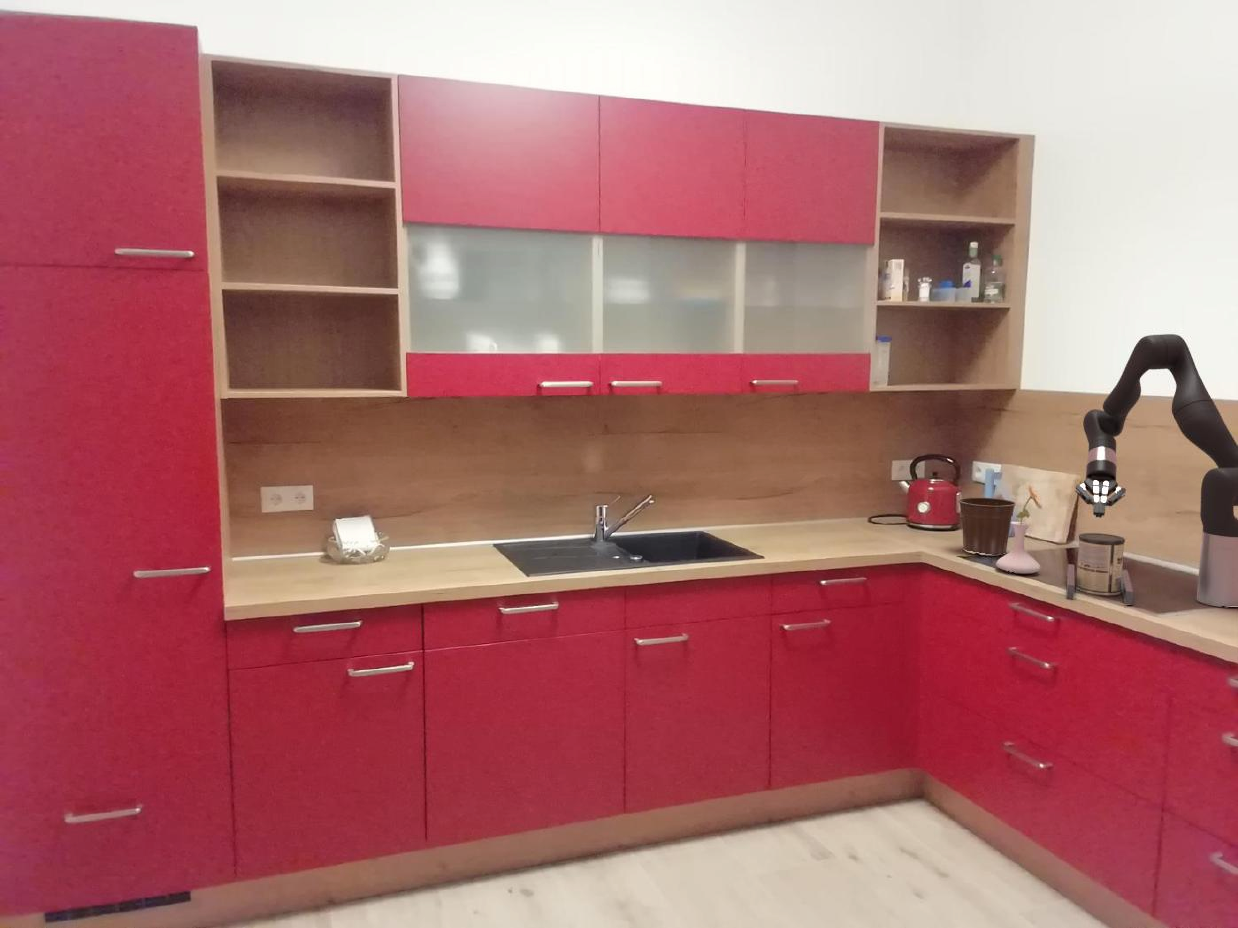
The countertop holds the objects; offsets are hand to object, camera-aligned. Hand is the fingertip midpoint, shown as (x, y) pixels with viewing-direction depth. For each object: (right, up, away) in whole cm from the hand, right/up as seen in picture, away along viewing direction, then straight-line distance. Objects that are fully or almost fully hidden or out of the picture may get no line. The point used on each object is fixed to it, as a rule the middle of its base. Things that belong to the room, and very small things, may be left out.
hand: (1099, 515), depth 238 cm
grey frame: (-9, -18, -16) cm, 26 cm away
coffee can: (-9, -18, -16) cm, 26 cm away
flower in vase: (-20, -16, +4) cm, 26 cm away
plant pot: (-20, -13, +28) cm, 37 cm away
